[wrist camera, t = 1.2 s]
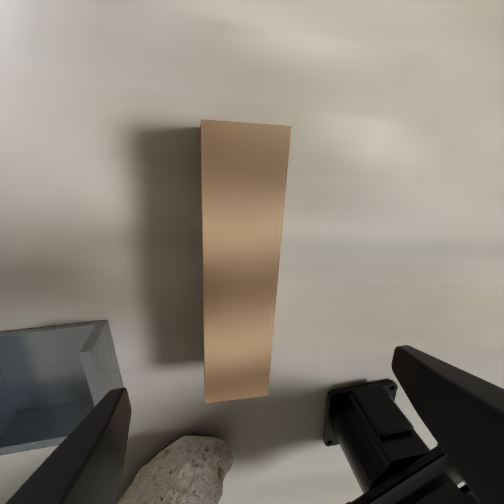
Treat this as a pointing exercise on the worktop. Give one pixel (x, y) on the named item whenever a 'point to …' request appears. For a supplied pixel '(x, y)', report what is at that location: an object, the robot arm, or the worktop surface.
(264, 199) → the walnut rail
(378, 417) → the robot arm
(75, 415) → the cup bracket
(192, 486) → the pumice stone
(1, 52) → the worktop surface
